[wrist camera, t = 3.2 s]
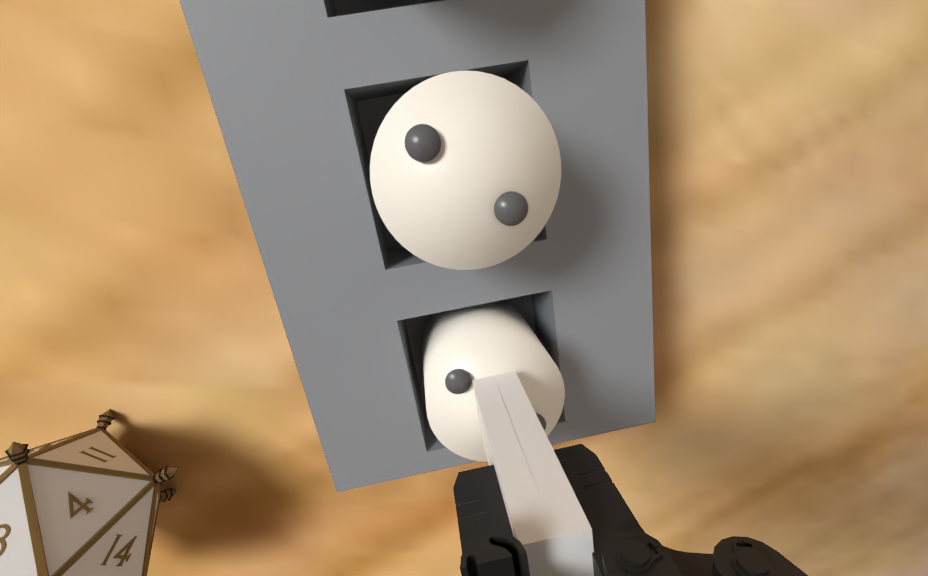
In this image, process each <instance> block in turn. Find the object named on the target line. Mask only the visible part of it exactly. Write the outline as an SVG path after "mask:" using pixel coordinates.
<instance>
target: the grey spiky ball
mask: <svg viewBox="0 0 928 576" xmlns="http://www.w3.org/2000/svg"><path fill="white" fill-rule="evenodd" d="M113 419H114V418H113V417H112V414H111V410H110V409H109V410H108V411H107V412H105V413H104V414H102V415H99V420H97V423H98V426H97V428H95V429H92V430H89V431H86V432H83V433H79V434H76V435H73V436H70V437H67V438H64V439H60V440H57V441H54V442H51V443H48V444H45V445H41V446H38V447H35V448H32V449H27V447H28V444H20V443H16V442H13V443H12V445H11V446H10V448H9V449H8V450H6V451H5V452H6V454H7V455H8V456H7V457H3V458H0V576H147V571H148V565H149V559H150V554H151V548H152V542H153V537H154V531H155V525H156V520H157V514H158V508H159V502H160V501H163V502H165V501H166V500H168V501H169V500H170V499H171V498H172V496H173V495H174V494H175V493H176V492H177V491H174V490H171V488H170V489H165V490H164V491H160V489H159V482H165V481H166V480H170V479H171V478H173V477H174V474H175V472H176V471H177V470H178V468H170V467H167V466H165V468H164V469H163V470H161V469H160V470H159V472H158V473H157V474H156V475H155V474H154V473H153V472H152V471H151V470H150V469H149V468H147V467H146V466H145V465H144V464H143V463H142V462H141V461H140V460H139V459H137V458H136V457H135V456H134V455H133V454H132V453H131V452H130V451H128V450H127V449H126V448H125V447H124V446H123V445H122V444H121V443H120V442H118V441H117V440H116V439H115V438H114V437H113V436H112V435H111V434H110V433H108V432H107V431H106V428H107V427H108V425H111V421H112V420H113Z"/></svg>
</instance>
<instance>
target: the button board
mask: <svg viewBox="0 0 928 576" xmlns="http://www.w3.org/2000/svg"><path fill="white" fill-rule="evenodd" d="M180 3H181V6H182V10H183V13H184V16H185V19H186V22H187V25H188V28H189V31H190V35H191V38H192V41H193V44H194V47H195V50H196V53H197V57H198V60H199V63H200V66H201V69H202V72H203V75H204V78H205V82H206V85H207V88H208V91H209V94H210V97H211V100H212V103H213V107H214V110H215V113H216V116H217V119H218V122H219V125H220V128H221V132H222V135H223V138H224V141H225V144H226V147H227V150H228V153H229V157H230V160H231V163H232V166H233V169H234V172H235V175H236V179H237V182H238V185H239V188H240V191H241V194H242V197H243V200H244V204H245V207H246V210H247V213H248V216H249V219H250V222H251V225H252V229H253V232H254V235H255V238H256V241H257V244H258V247H259V250H260V254H261V257H262V260H263V263H264V266H265V269H266V272H267V275H268V279H269V282H270V285H271V288H272V291H273V294H274V297H275V301H276V304H277V307H278V310H279V313H280V316H281V319H282V322H283V326H284V329H285V332H286V335H287V338H288V341H289V344H290V347H291V351H292V354H293V357H294V360H295V363H296V366H297V369H298V372H299V376H300V379H301V382H302V385H303V388H304V391H305V394H306V397H307V401H308V404H309V407H310V410H311V413H312V416H313V419H314V423H315V426H316V429H317V432H318V435H319V438H320V441H321V444H322V448H323V451H324V454H325V457H326V460H327V463H328V466H329V469H330V473H331V476H332V479H333V482H334V485H335V488H336V491H337V492H340V491H345V490H349V489H354V488H358V487H363V486H367V485H372V484H376V483H381V482H385V481H390V480H394V479H399V478H403V477H408V476H412V475H417V474H421V473H426V472H430V471H435V470H439V469H444V468H448V467H453V466H457V465H462V464H467V463H471V462H476V460H471V459H467V458H464V457H462V456H459V455H457V454H455V453H454V452H452V451H450V450H449V449H448V448H446V447H445V446H444V445H443V444H442V443H441V442H440V441H439V440H438V439H437V437H436V436H435V434H434V433H433V431H432V429H431V427H430V425H429V421H428V418H427V411H426V400H425V386H424V373H423V360H422V336H423V332H424V329H425V326H426V324H427V322H428V320H429V319H430V317H431V316H432V314H434V313H439V312H444V311H449V310H454V309H459V308H464V307H470V306H475V305H480V304H485V303H490V302H495V301H500V300H505V299H506V300H507V301H509V302H510V303H511V304H513V305H514V306H515V307H516V308H517V309H518V311H519V312H520V313H521V315H522V316H523V318H524V319H525V320H526V322H527V323H528V325H529V326H530V328H531V329H532V331H533V332H534V333H535V335H536V336H537V338H538V339H539V341H540V342H541V344H542V345H543V346H544V348H545V349H546V351H547V352H548V354H549V355H550V357H551V358H552V359H553V361H554V362H555V364H556V365H557V367H558V369H559V371H560V373H561V375H562V378H563V382H564V388H565V399H564V406H563V410H562V413H561V415H560V418H559V420H558V422H557V424H556V425H555V427H554V428H553V430H552V431H551V432H550V434H549V435H548V436H547V438H548V440H549V442H550V444H551V445H552V444H557V443H561V442H566V441H570V440H575V439H579V438H584V437H588V436H593V435H597V434H602V433H606V432H611V431H615V430H620V429H624V428H629V427H633V426H638V425H642V424H647V423H652V422H655V388H654V347H653V306H652V265H651V224H650V183H649V142H648V101H647V61H646V20H645V0H180ZM454 71H479V72H484V73H489V74H493V75H496V76H498V77H501V78H504V79H506V80H508V81H509V82H511V83H513V84H515V85H517V86H518V87H519V88H521V89H522V90H523V91H525V92H526V93H527V94H528V95H529V96H530V97H531V98H532V99H533V100H534V101H535V102H536V103H537V104H538V105H539V107H540V108H541V109H542V110H543V112H544V113H545V115H546V117H547V118H548V120H549V122H550V123H551V126H552V128H553V130H554V133H555V135H556V138H557V142H558V146H559V150H560V157H561V182H560V189H559V193H558V198H557V201H556V204H555V206H554V209H553V211H552V213H551V215H550V217H549V220H548V221H547V223H546V224H545V226H544V227H543V229H542V231H541V232H540V233H539V234H538V235H537V237H536V238H535V239H534V240H533V241H532V242H531V243H530V244H529V245H528V246H527V247H526V248H525V249H523V250H522V251H520V252H519V253H518V254H516V255H515V256H513V257H511V258H509V259H508V260H506V261H504V262H501V263H499V264H496V265H494V266H490V267H486V268H482V269H474V270H455V269H448V268H444V267H440V266H436V265H433V264H431V263H428V262H426V261H424V260H422V259H420V258H419V257H417V256H415V255H413V254H412V253H411V252H409V251H408V250H407V249H405V248H404V247H403V246H402V245H401V244H400V243H399V242H398V241H397V240H396V239H395V238H394V237H393V235H392V234H391V233H390V232H389V230H388V229H387V227H386V226H385V224H384V222H383V221H382V219H381V217H380V215H379V212H378V210H377V208H376V205H375V202H374V198H373V195H372V189H371V183H370V160H371V152H372V148H373V144H374V140H375V137H376V135H377V132H378V130H379V127H380V125H381V124H382V122H383V120H384V118H385V116H386V115H387V113H388V112H389V111H390V109H391V108H392V107H393V105H394V104H395V103H396V102H397V101H398V100H399V99H400V98H401V97H402V96H403V95H404V94H405V93H407V92H408V91H409V90H410V89H412V88H413V87H414V86H416V85H418V84H419V83H421V82H423V81H425V80H427V79H429V78H432V77H434V76H437V75H440V74H444V73H448V72H454Z"/></svg>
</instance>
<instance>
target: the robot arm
mask: <svg viewBox="0 0 928 576" xmlns="http://www.w3.org/2000/svg"><path fill="white" fill-rule="evenodd" d="M472 381H473V387H474V393H475V398H476V404H477V410H478V415H479V421H480V427H481V432H482V438H483V444H484V448H485V452H486V456H487V460H488V464H489V466H485V467H481V468H477V469H472V470H468V471H463V472H459V473H458V476H457V479H456V482H455V485H454V488H453V489H454V496H455V503H456V510H457V517H458V525H459V532H460V540H461V547H462V556H461V565H460V570H461V574H462V576H808V575H806V574H805V573H804V572H803V571H801V570H800V569H799V568H798V567H796V566H795V565H794V564H793V563H791V562H790V561H789V560H787V559H786V558H785V557H784V556H782V555H781V554H780V553H779V552H777V551H776V550H774V549H773V548H771V547H769V546H768V545H766V544H765V543H763V542H760V541H757V540H754V539H751V538H748V537H735V536H733V537H729V538H726V539H722V540H721V541H720V542H719V543H718V544H717V545H716V546H715V548H714V553H713V554H703V553H689V552H681V551H676V550H672V549H670V548H667V547H664V546H662V545H661V543H660V542H659V541H658V540H656V539H655V538H653V537H651V536H649V535H648V534H646V533H645V532H644V530H643V529H642V528H641V527H640V525H639V523H638V522H637V520H636V519H635V517H634V515H633V514H632V512H631V510H630V509H629V507H628V506H627V504H626V502H625V501H624V499H623V498H622V496H621V494H620V493H619V491H618V489H617V488H616V486H615V485H614V483H612V480H611V478H610V477H609V475H608V473H607V472H605V468H604V467H603V465H602V464H601V462H600V460H599V459H598V457H597V456H596V454H594V453H593V452H592V451H590V450H589V449H588V448H586V447H585V446H583V445H582V444H579V445H574V446H570V447H565V448H561V449H556V450H553V448H552V446H551V444H550V442H549V440H548V438H547V436H546V433H545V431H544V429H543V427H542V425H541V423H540V421H539V419H538V417H537V415H536V413H535V411H534V409H533V407H532V405H531V403H530V401H529V399H528V397H527V395H526V392H525V390H524V388H523V386H522V384H521V382H520V380H519V378H518V376H517V374H516V372H515V371H514V372H509V373H504V374H500V375H495V376H490V377H485V378H480V379H476V380H472Z"/></svg>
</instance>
